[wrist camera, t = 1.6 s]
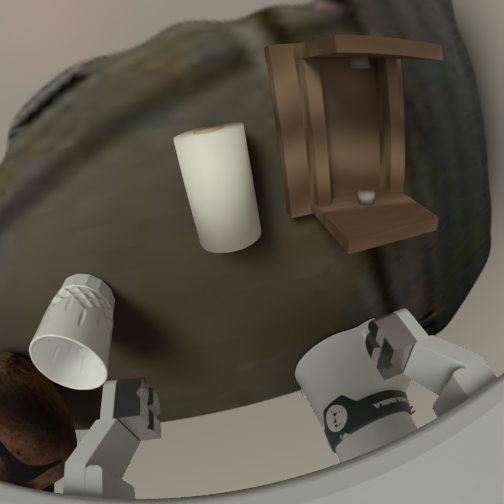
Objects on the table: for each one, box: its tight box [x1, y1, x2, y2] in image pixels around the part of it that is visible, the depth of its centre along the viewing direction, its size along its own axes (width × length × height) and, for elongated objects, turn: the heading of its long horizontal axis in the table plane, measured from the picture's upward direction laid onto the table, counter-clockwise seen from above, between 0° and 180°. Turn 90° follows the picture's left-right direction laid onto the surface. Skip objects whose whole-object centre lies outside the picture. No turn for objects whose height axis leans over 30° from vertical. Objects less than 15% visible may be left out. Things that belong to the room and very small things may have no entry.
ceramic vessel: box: [0, 352, 77, 492], centre depth 22 cm, size 21×18×30 cm
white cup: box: [29, 274, 115, 390], centre depth 26 cm, size 8×8×10 cm
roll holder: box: [264, 34, 443, 254], centre depth 22 cm, size 16×13×10 cm
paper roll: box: [174, 122, 261, 253], centre depth 25 cm, size 10×6×6 cm, turn 9°
